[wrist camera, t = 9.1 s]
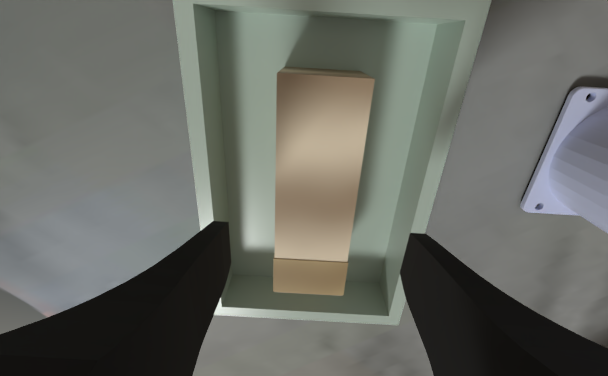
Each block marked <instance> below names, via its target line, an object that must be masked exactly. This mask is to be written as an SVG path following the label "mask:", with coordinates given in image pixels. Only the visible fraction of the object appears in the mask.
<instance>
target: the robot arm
mask: <svg viewBox="0 0 608 376" xmlns="http://www.w3.org/2000/svg"><path fill="white" fill-rule="evenodd" d="M588 94H590V97H589V98H588V99H587V100H586V97H587V95H588ZM537 204H539V205H538V206H537V207H535V206H536V205H537ZM520 206H521V208H522V209H523V210H524V211H525V212H529V213H547V214H564V215H580V216H581V217H583V218H585V219H586V220H588V221H589V222H591V223H592V224H594V225H595V226H597V227H599V228H600V229H602V230H603V231H605V232H606V233H608V88H599V87H582V86H581V87H576V88H574V89H573V90H572V91H571V92H570V93H569V95H568V97H567V99H566V102H565V104H564V106H563V108H562V111H561V113H560V115H559V118H558V120H557V122H556V124H555V127H554V129H553V131H552V134H551V136H550V138H549V140H548V143H547V145H546V147H545V150H544V152H543V154H542V156H541V159H540V161H539V163H538V166H537V168H536V170H535V172H534V175H533V177H532V179H531V182H530V184H529V186H528V188H527V191H526V193H525V195H524V197H523V200H522V202H521V205H520ZM230 266H231V249H230V235H229V222H222V221H213V222H211V223H210V224H209V225H207V226H206V227H205V228H204V229H202V230H201V231H200V232H199V233H197V234H196V235H195V236H194V237H192V238H191V239H190V240H188V241H187V242H186V243H185V244H183V245H182V246H181V247H179V248H178V249H177V250H175V251H174V252H172V253H171V254H170V255H168V256H167V257H165V258H164V259H162V260H161V261H159V262H158V263H157V264H155V265H154V266H152V267H150V268H149V269H147V270H146V271H144V272H142V273H141V274H139V275H137V276H135V277H134V278H132V279H130V280H128V281H127V282H125V283H123V284H121V285H119V286H117V287H115V288H113V289H111V290H109V291H107V292H105V293H103V294H101V295H99V296H97V297H95V298H93V299H91V300H89V301H86V302H84V303H82V304H79V305H77V306H75V307H73V308H70V309H68V310H65V311H63V312H60V313H58V314H56V315H53V316H50V317H48V318H45V319H43V320H40V321H37V322H34V323H32V324H29V325H26V326H23V327H20V328H18V329H15V330H12V331H9V332H6V333H3V334H0V376H192V375H193V371H194V368H195V365H196V361H197V358H198V355H199V351H200V348H201V345H202V343H203V340H204V337H205V335H206V332H207V330H208V327H209V325H210V322H211V320H212V318H213V315H214V313H215V310H216V308H217V305H218V303H219V300H220V298H221V295H222V293H223V290H224V288H225V285H226V281H227V278H228V274H229V270H230ZM400 276H401V281H402V285H403V289H404V293H405V297H406V300H407V302H408V305H409V308H410V310H411V313H412V316H413V318H414V321H415V323H416V326H417V329H418V331H419V334H420V336H421V339H422V341H423V344H424V347H425V349H426V352H427V355H428V358H429V361H430V364H431V367H432V371H433V375H434V376H608V349H607V348H605V347H603V346H601V345H599V344H597V343H595V342H592V341H590V340H588V339H586V338H584V337H582V336H580V335H578V334H576V333H574V332H572V331H570V330H568V329H566V328H564V327H562V326H560V325H558V324H557V323H555V322H553V321H551V320H549V319H547V318H545V317H544V316H542V315H540V314H538V313H536V312H535V311H533V310H531V309H530V308H528V307H526V306H524V305H523V304H521V303H520V302H518V301H516V300H515V299H513V298H512V297H510V296H508V295H507V294H505V293H504V292H502V291H501V290H499V289H498V288H496V287H495V286H493V285H492V284H491V283H489V282H488V281H486V280H485V279H484V278H482V277H481V276H479V275H478V274H477V273H475V272H474V271H473V270H471V269H470V268H469V267H467V266H466V265H465V264H464V263H462V262H461V261H460V260H458V259H457V258H456V257H455V256H453V255H452V254H451V253H450V252H448V251H447V250H446V249H445V248H443V247H442V246H441V245H440V244H438V243H437V242H436V241H435V240H433V239H432V238H431V237H429V236H428V235H427V234H421V233H410V235H409V239H408V243H407V246H406V250H405V254H404V258H403V262H402V266H401V270H400Z"/></svg>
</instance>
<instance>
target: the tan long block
mask: <svg viewBox="0 0 608 376" xmlns="http://www.w3.org/2000/svg"><path fill="white" fill-rule="evenodd" d="M374 82H375V79H374V78H372V77H371V76H369V75H367V74H365V73H363V72H361V71H353V70H336V69H320V68H303V67H286V66H284V67H283V68H282V69H281V70H280V71H279V72H277V95H276V176H275V253H274V259H273V292H280V293H298V294H316V295H335V296H342V295H344V288H345V282H346V275H347V269H348V255H349V248H350V241H351V235H352V228H353V221H354V215H355V208H356V201H357V195H358V188H359V181H360V175H361V168H362V161H363V155H364V148H365V142H366V135H367V128H368V122H369V115H370V108H371V102H372V95H373V88H374Z"/></svg>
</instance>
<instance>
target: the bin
mask: <svg viewBox="0 0 608 376" xmlns="http://www.w3.org/2000/svg"><path fill="white" fill-rule="evenodd" d="M491 1H492V0H173V7H174V16H175V24H176V32H177V40H178V49H179V57H180V65H181V73H182V82H183V90H184V98H185V106H186V115H187V123H188V131H189V140H190V148H191V156H192V164H193V173H194V181H195V189H196V197H197V206H198V214H199V222H200V230H202V229H204V228H205V227H206V226H207V225H209V224H210V223H211V222H213V221H222V222H229V235H230V249H231V266H230V270H229V274H228V278H227V281H226V285H225V288H224V290H223V293H222V295H221V298H220V300H219V303H218V305H217V308H216V310H215V313H214V315H224V316H242V317H260V318H278V319H296V320H314V321H332V322H350V323H368V324H385V325H399V321H400V318H401V315H402V311H403V308H404V304H405V301H406V297H405V293H404V289H403V285H402V281H401V276H400V270H401V266H402V262H403V258H404V254H405V250H406V246H407V243H408V239H409V235H410V233H421V234H425V231H426V227H427V224H428V220H429V217H430V213H431V210H432V206H433V203H434V199H435V196H436V192H437V189H438V186H439V182H440V179H441V175H442V172H443V168H444V165H445V161H446V158H447V154H448V151H449V147H450V144H451V140H452V137H453V133H454V130H455V126H456V123H457V119H458V116H459V112H460V109H461V105H462V102H463V98H464V95H465V91H466V88H467V84H468V81H469V77H470V74H471V70H472V67H473V63H474V60H475V57H476V53H477V50H478V46H479V43H480V39H481V36H482V32H483V29H484V25H485V22H486V18H487V15H488V11H489V8H490V4H491ZM284 66H286V67H303V68H320V69H336V70H353V71H361V72H363V73H365V74H367V75H369V76H371V77H372V78H374V79H375V82H374V88H373V95H372V102H371V108H370V115H369V122H368V128H367V135H366V142H365V148H364V155H363V161H362V168H361V175H360V181H359V188H358V195H357V201H356V208H355V215H354V221H353V228H352V235H351V241H350V248H349V255H348V269H347V275H346V282H345V288H344V295H342V296H335V295H316V294H298V293H280V292H273V259H274V253H275V176H276V95H277V72H279V71H280V70H281V69H282V68H283V67H284Z"/></svg>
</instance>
